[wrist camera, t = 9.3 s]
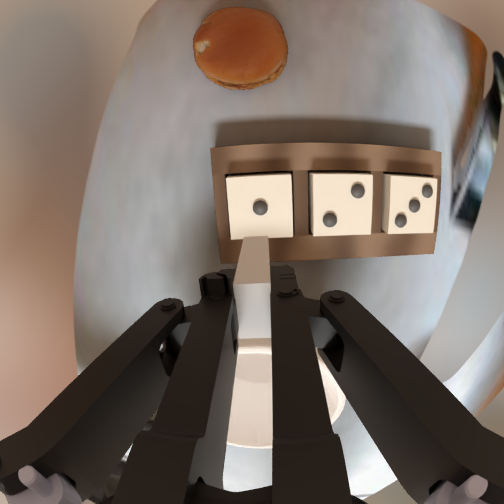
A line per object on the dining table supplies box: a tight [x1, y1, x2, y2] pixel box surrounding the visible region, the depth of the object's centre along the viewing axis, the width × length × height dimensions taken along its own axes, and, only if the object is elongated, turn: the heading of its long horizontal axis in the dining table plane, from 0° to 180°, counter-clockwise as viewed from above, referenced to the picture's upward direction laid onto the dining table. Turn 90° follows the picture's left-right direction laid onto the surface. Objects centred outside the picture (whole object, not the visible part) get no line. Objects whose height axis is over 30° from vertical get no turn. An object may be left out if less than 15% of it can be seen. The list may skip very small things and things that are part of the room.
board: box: [210, 143, 441, 263], centre depth 28 cm, size 25×12×2 cm, turn 94°
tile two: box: [307, 171, 373, 236], centre depth 27 cm, size 6×6×4 cm
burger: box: [193, 7, 288, 90], centre depth 21 cm, size 10×9×5 cm
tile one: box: [226, 172, 293, 240], centre depth 27 cm, size 6×6×4 cm
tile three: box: [381, 173, 437, 234], centre depth 26 cm, size 6×6×4 cm
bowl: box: [227, 333, 346, 448], centre depth 31 cm, size 19×19×11 cm
